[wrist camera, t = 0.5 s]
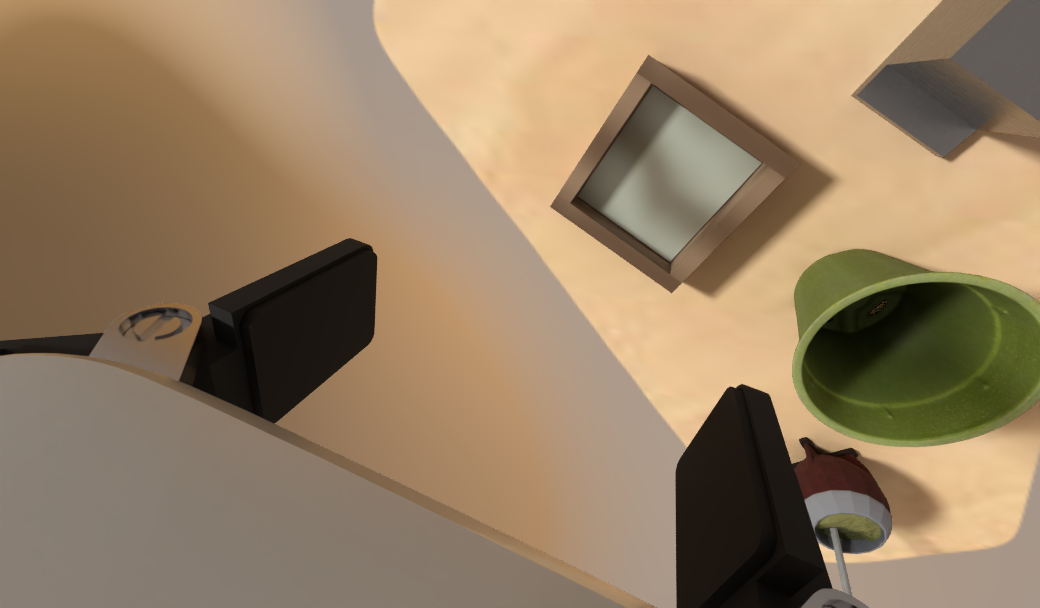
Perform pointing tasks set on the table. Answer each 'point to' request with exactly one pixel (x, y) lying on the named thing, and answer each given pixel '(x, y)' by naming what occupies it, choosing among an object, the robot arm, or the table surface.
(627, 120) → the square wooden tray
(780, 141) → the table surface
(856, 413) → the plant pot
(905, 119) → the grey block
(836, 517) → the mate gourd
